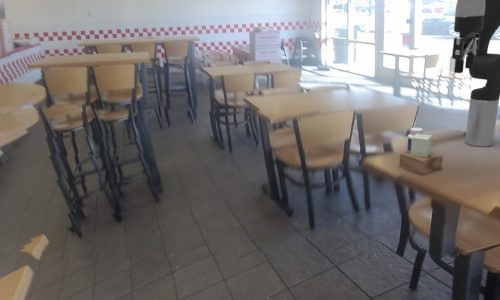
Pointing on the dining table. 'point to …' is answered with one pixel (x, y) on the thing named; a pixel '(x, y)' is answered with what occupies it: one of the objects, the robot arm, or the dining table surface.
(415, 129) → the pill bottle
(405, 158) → the walnut block
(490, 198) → the dining table surface
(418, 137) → the sage cube
